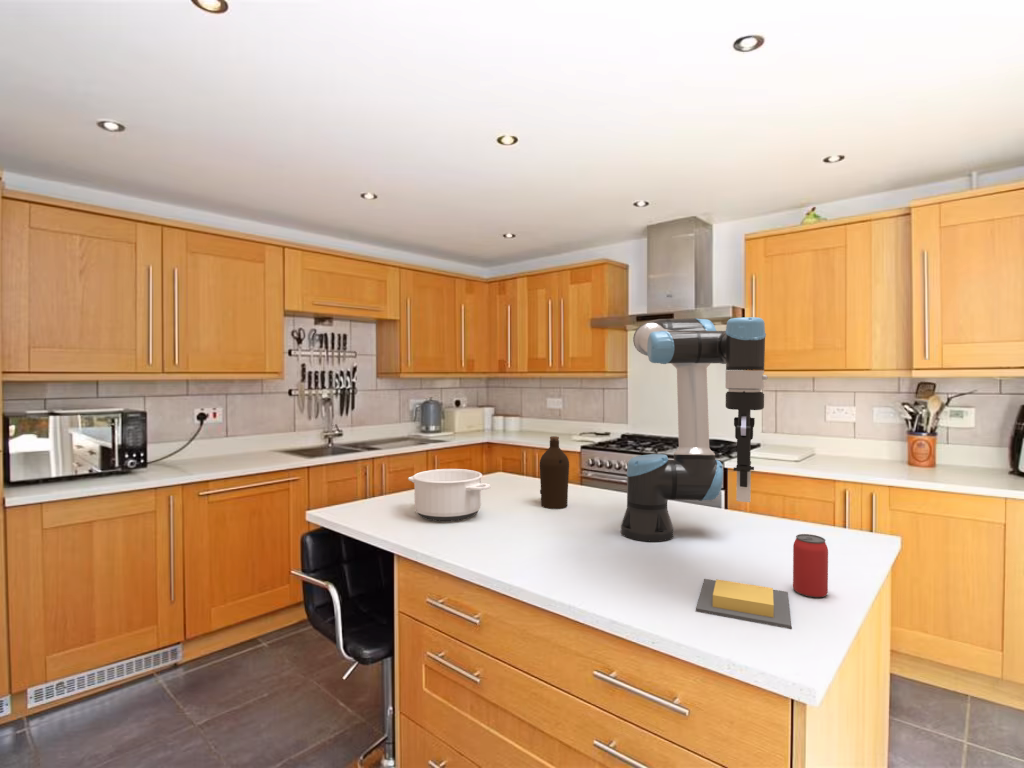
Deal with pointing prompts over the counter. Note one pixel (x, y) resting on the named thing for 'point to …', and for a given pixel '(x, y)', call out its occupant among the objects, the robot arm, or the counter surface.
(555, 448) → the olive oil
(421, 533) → the counter surface
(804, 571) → the beer can
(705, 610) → the mat
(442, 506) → the pot
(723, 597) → the slab
